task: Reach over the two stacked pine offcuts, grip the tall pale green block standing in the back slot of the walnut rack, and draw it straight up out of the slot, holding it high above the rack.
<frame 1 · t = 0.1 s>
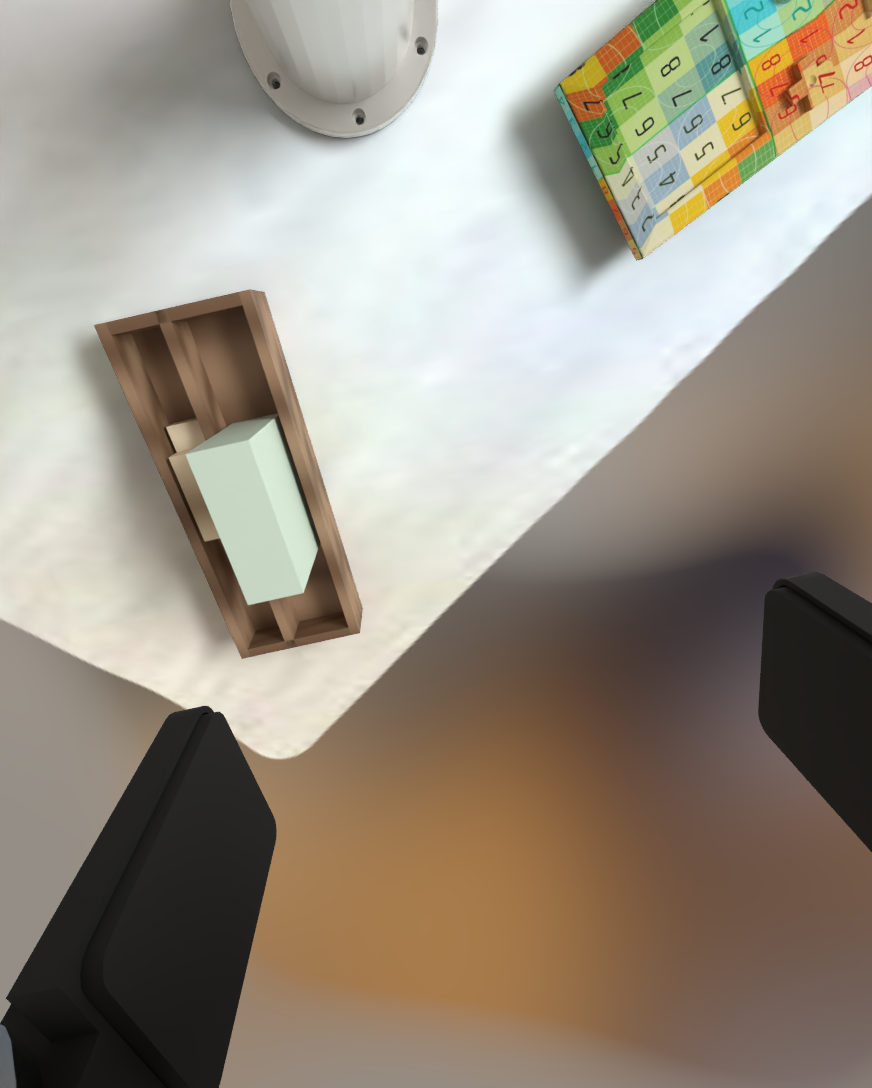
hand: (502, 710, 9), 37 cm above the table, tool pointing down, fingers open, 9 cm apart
rack: (258, 484, 44), on the table
offcut lower: (212, 473, 42), point 1 cm above the table, touching offcut upper, rack
pale green block: (279, 483, 43), point 1 cm above the table, touching rack
offcut upper: (210, 491, 41), point 3 cm above the table, touching offcut lower
puzzle game: (706, 91, 36), on the table
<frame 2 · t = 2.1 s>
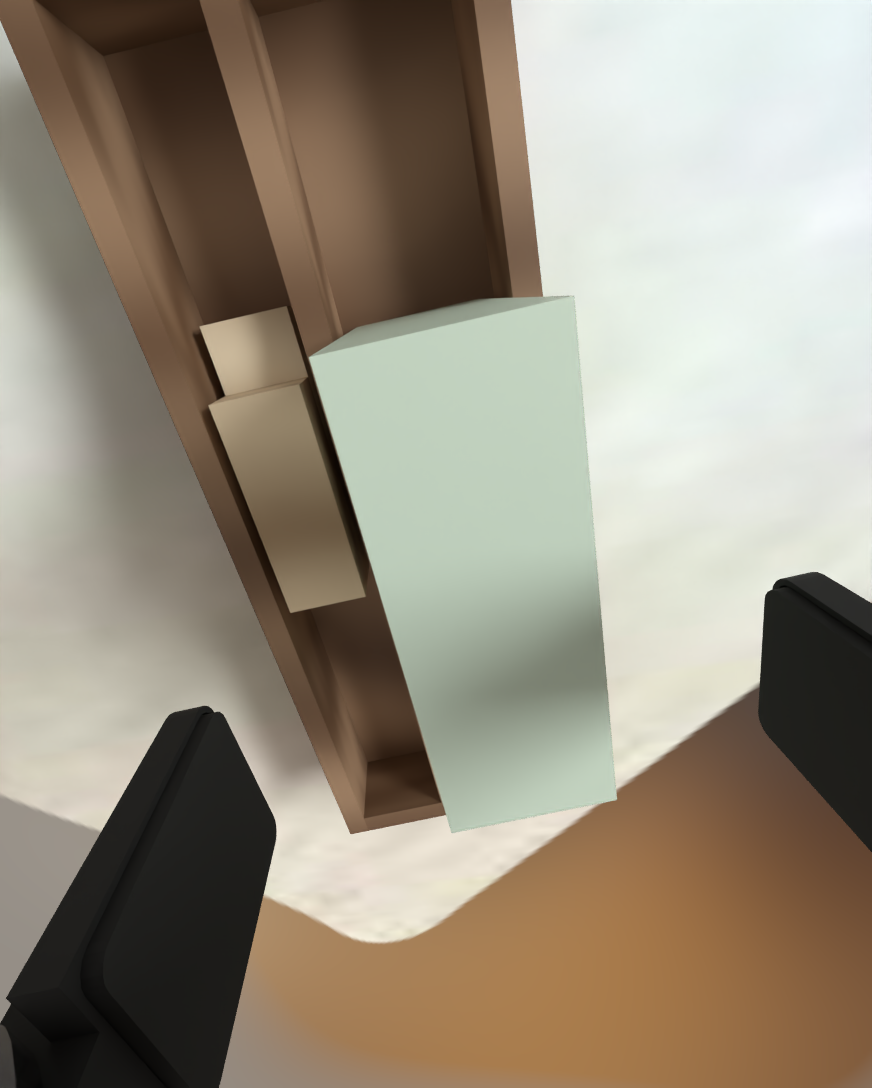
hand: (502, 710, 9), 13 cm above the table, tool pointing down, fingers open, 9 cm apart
rack: (395, 475, 20), on the table
offcut lower: (301, 451, 18), point 1 cm above the table, touching offcut upper, rack
pale green block: (450, 473, 19), point 1 cm above the table, touching rack
offcut upper: (302, 492, 17), point 3 cm above the table, touching offcut lower
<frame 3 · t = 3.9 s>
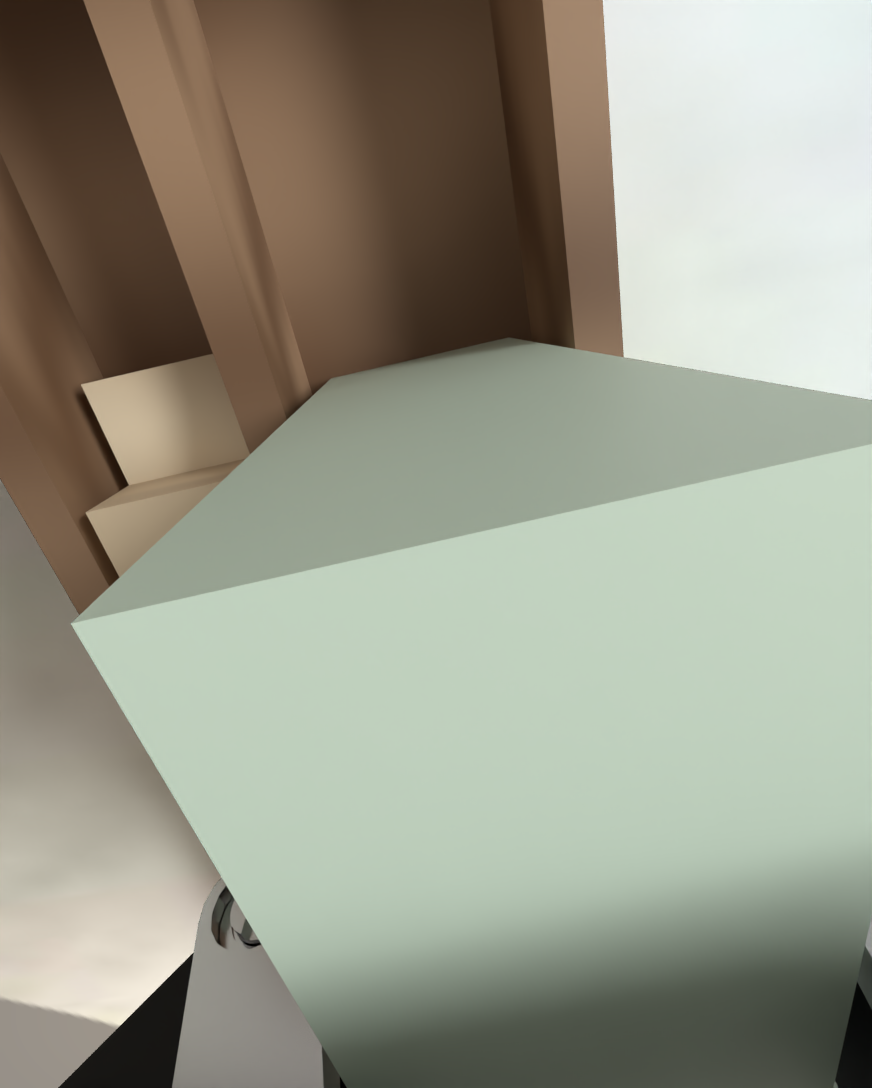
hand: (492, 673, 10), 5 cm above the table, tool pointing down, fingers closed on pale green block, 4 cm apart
rack: (388, 571, 15), on the table
offcut lower: (254, 548, 13), point 1 cm above the table, touching offcut upper, rack
pale green block: (465, 575, 14), point 1 cm above the table, touching gripper, rack
offcut upper: (252, 616, 12), point 3 cm above the table, touching offcut lower
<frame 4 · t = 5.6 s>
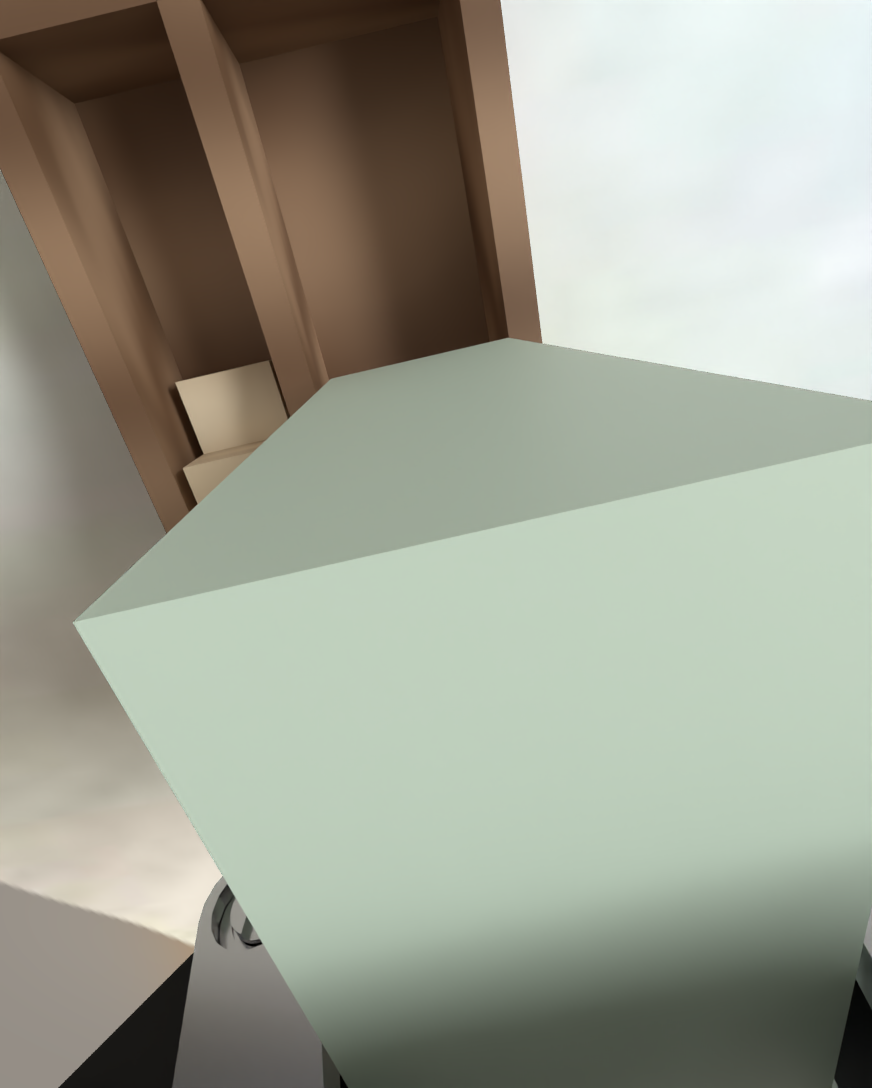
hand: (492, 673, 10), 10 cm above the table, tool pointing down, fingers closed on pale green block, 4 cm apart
rack: (387, 529, 19), on the table
offcut lower: (286, 507, 17), point 1 cm above the table, touching offcut upper, rack
pale green block: (465, 575, 14), point 6 cm above the table, touching gripper
offcut upper: (287, 553, 16), point 3 cm above the table, touching offcut lower
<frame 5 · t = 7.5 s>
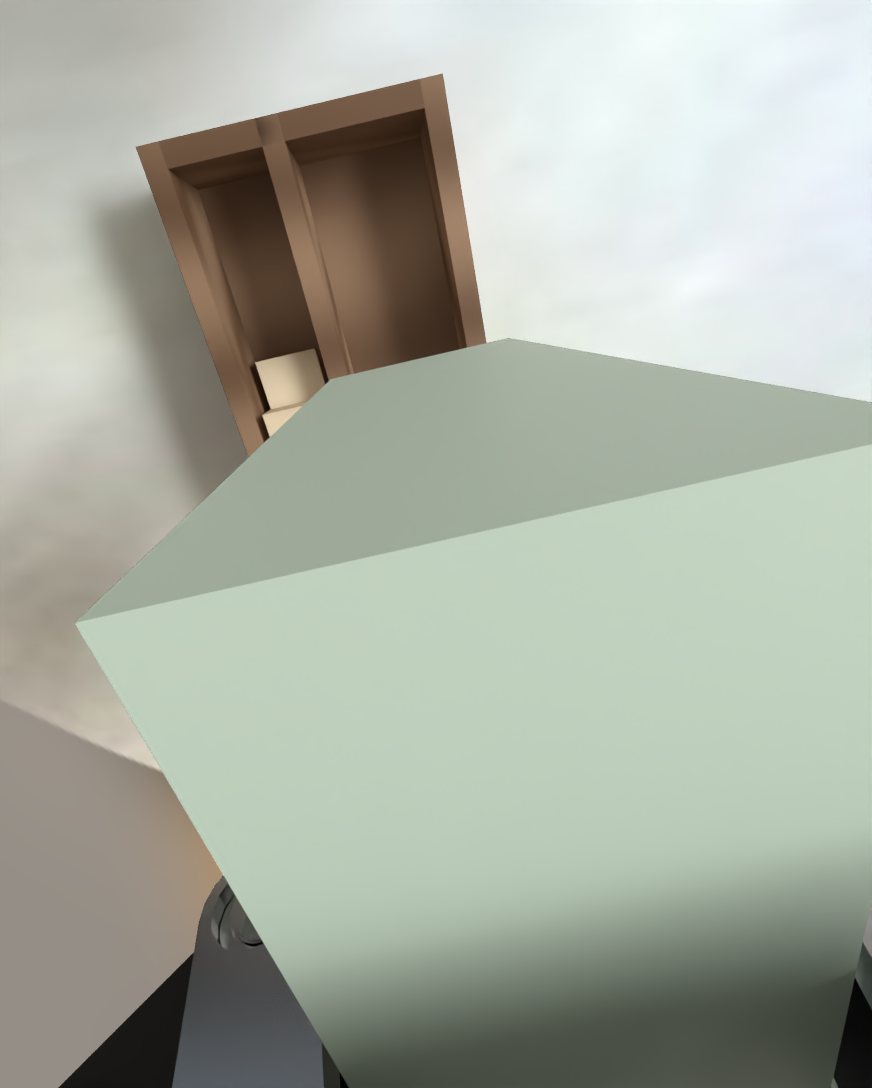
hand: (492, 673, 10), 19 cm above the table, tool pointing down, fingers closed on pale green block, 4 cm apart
rack: (389, 469, 27), on the table
offcut lower: (321, 449, 25), point 1 cm above the table, touching offcut upper, rack
pale green block: (465, 575, 14), point 14 cm above the table, touching gripper
offcut upper: (322, 478, 24), point 3 cm above the table, touching offcut lower
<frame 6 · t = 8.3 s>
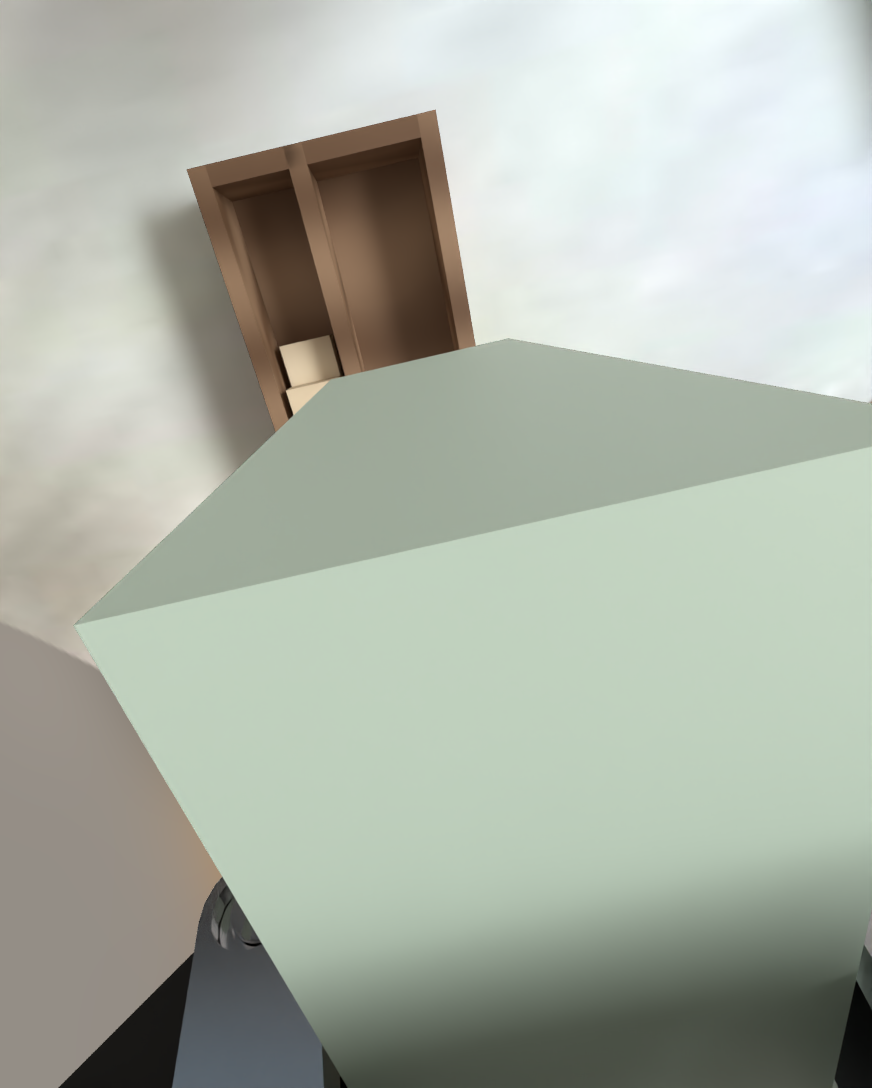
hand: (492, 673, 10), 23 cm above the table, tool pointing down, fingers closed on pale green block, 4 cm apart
rack: (391, 441, 31), on the table
offcut lower: (333, 423, 29), point 1 cm above the table, touching offcut upper, rack
pale green block: (465, 575, 14), point 19 cm above the table, touching gripper
offcut upper: (335, 446, 28), point 3 cm above the table, touching offcut lower
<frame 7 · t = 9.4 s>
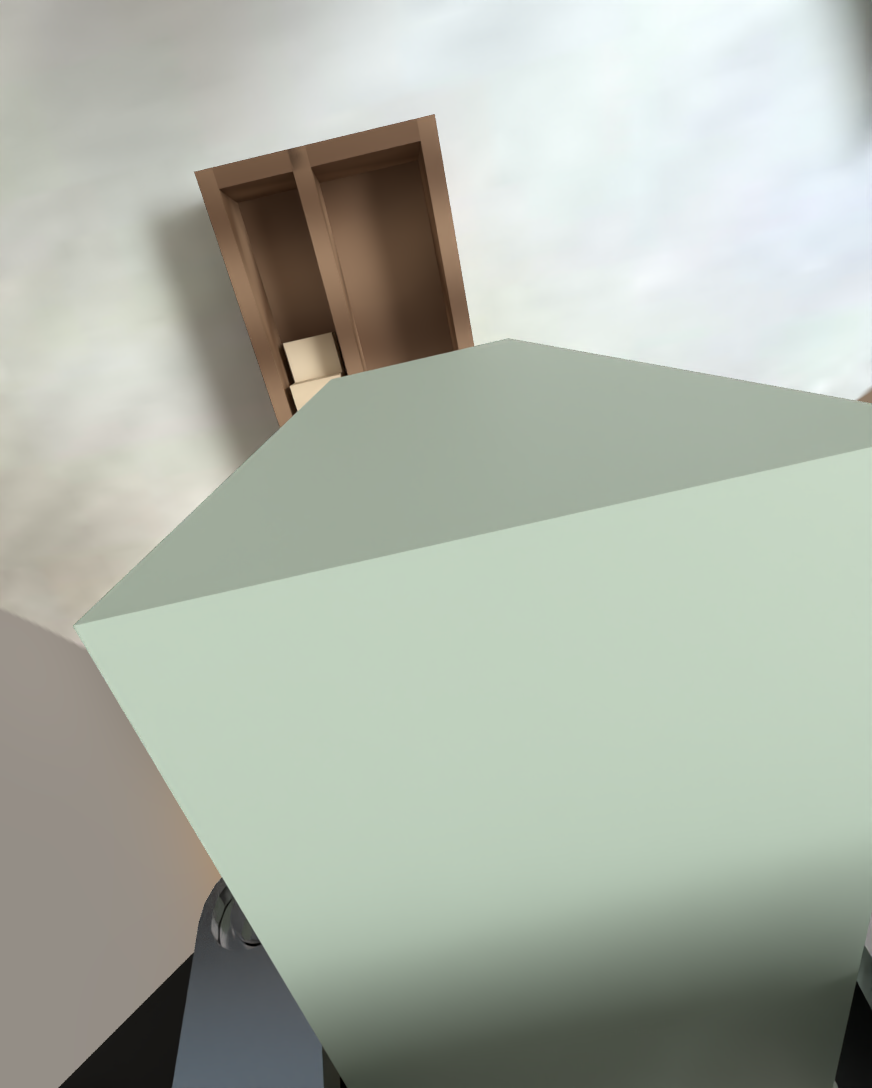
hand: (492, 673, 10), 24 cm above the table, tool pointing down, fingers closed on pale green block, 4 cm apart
rack: (392, 436, 32), on the table
offcut lower: (335, 418, 30), point 1 cm above the table, touching offcut upper, rack
pale green block: (465, 575, 14), point 20 cm above the table, touching gripper
offcut upper: (337, 440, 29), point 3 cm above the table, touching offcut lower
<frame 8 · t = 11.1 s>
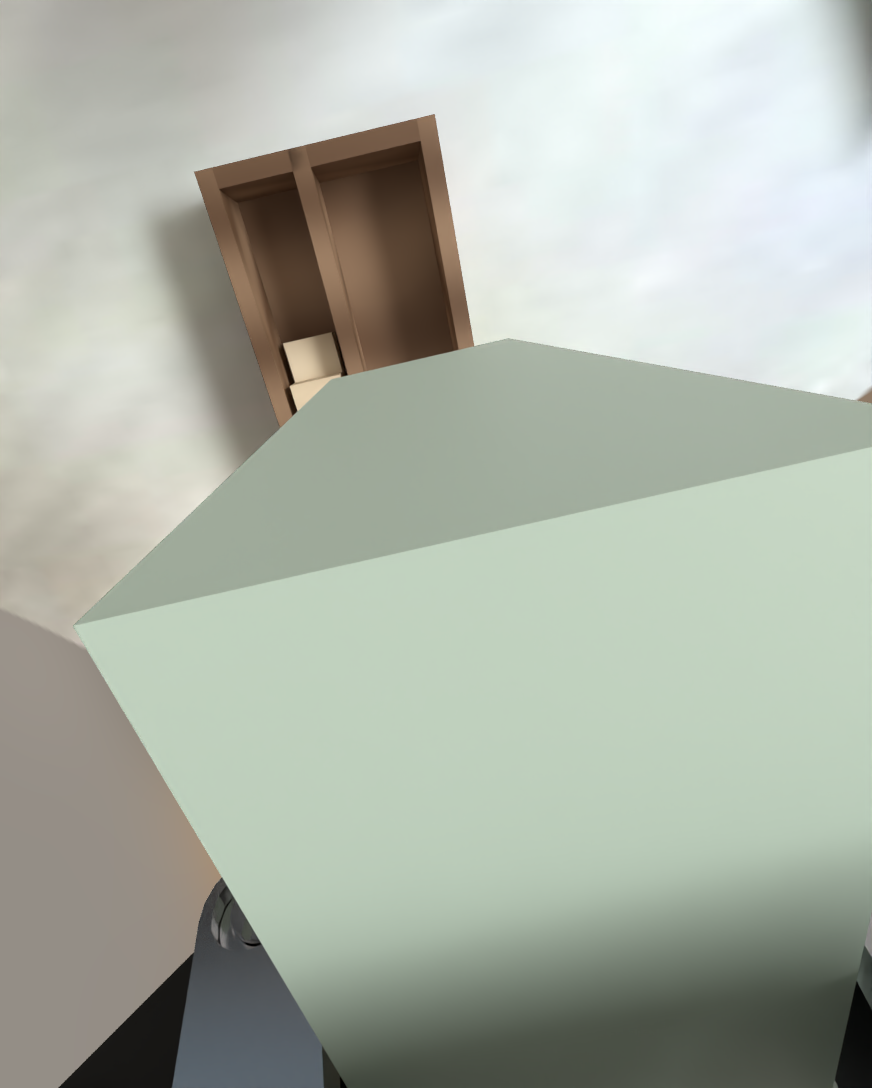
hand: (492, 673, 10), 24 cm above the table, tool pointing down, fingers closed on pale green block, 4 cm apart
rack: (392, 436, 32), on the table
offcut lower: (335, 418, 30), point 1 cm above the table, touching offcut upper, rack
pale green block: (465, 575, 14), point 20 cm above the table, touching gripper
offcut upper: (337, 440, 29), point 3 cm above the table, touching offcut lower
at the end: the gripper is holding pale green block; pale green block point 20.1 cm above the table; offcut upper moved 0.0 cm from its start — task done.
